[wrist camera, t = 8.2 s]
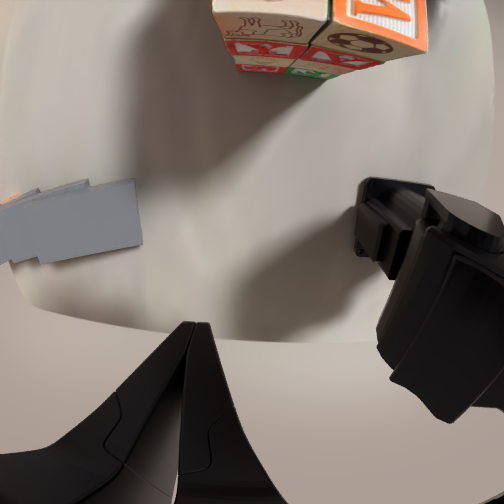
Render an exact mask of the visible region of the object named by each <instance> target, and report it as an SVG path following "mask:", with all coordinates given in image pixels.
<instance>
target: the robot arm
mask: <svg viewBox="0 0 504 504" xmlns="http://www.w3.org/2000/svg"><path fill="white" fill-rule="evenodd" d="M372 181H374V185H373V186H370V183H371V182H372ZM354 234H355V236H356V242H355V247H354V252H355V253H356V255H357V256H359V257H370V258H371V259H372V261H373V262H378V264H379V265H380V267H381V268H382V270H383V271H384V273H385V274H386V276H387V277H388V279H389V280H395V283H394V285H393V288H392V290H391V293H390V295H389V297H388V300H387V302H386V304H385V307H384V309H383V311H382V314H381V316H380V318H379V321H378V324H377V327H376V332H377V340H378V344H377V349H378V351H379V353H380V355H381V357H382V358H383V359H384V360H385V362H386V363H387V364H388V365H389V366H390V367H391V368H392V369H393V370H394V371H393V373H392V374H391V376H390V377H389V379H390V381H392V382H394V383H396V384H398V385H401V386H403V387H405V388H407V389H408V390H410V391H411V392H412V393H413V394H415V395H416V396H417V397H418V398H419V399H420V400H421V401H422V402H423V403H424V404H425V406H426V407H427V408H428V409H429V410H430V412H431V413H432V414H433V415H434V416H435V417H436V418H437V419H439V420H442V421H444V422H446V423H449V424H450V423H454V422H455V421H456V420H457V419H458V418H459V417H460V416H461V415H462V414H463V413H464V412H465V411H466V410H467V409H468V408H469V407H470V406H471V407H484V408H497V409H499V410H500V411H502V412H503V413H504V225H503V222H502V220H501V218H500V216H499V215H498V214H496V213H494V212H493V211H491V210H489V209H487V208H485V207H484V206H482V205H480V204H478V203H476V202H474V201H471V200H467V199H464V198H461V197H457V196H454V195H451V194H447V193H443V192H440V191H436V190H435V188H434V187H433V186H432V185H429V184H423V183H417V182H410V181H403V180H395V179H388V178H379V177H369V178H367V179H366V181H365V186H364V194H363V201H362V203H361V204H360V205H359V209H358V216H357V222H356V228H355V233H354ZM361 248H362V251H360V252H358V251H359V249H361ZM177 471H178V475H179V476H178V485H177V493H176V498H175V502H174V504H288V503H287V502H286V501H285V499H284V498H283V497H282V495H281V494H280V493H279V491H278V490H277V489H276V487H275V486H274V484H273V482H272V481H271V479H270V478H269V476H268V474H267V473H266V471H265V469H264V468H263V466H262V464H261V463H260V461H259V459H258V458H257V456H256V454H255V452H254V451H253V449H252V447H251V445H250V443H249V441H248V439H247V437H246V435H245V433H244V431H243V428H242V426H241V423H240V420H239V418H238V415H237V412H236V409H235V407H234V403H233V400H232V397H231V394H230V391H229V388H228V384H227V381H226V378H225V375H224V372H223V368H222V365H221V362H220V358H219V355H218V351H217V348H216V344H215V341H214V337H213V334H212V330H211V326H210V324H209V323H208V322H197V323H196V322H192V321H183V322H182V323H181V324H180V325H179V326H178V327H177V328H176V329H175V330H174V331H173V332H172V333H171V334H170V335H169V336H168V337H167V338H166V339H165V340H164V341H163V342H162V343H161V344H160V345H159V346H158V347H157V348H156V350H154V351H153V352H152V353H151V354H150V355H149V357H148V358H147V359H146V360H145V361H144V362H143V363H142V364H141V365H140V366H139V367H138V368H137V369H136V370H135V371H134V372H133V373H132V374H131V375H130V376H129V377H128V378H127V379H126V380H125V381H124V382H123V383H122V384H121V385H120V386H119V387H118V388H117V389H116V392H113V393H112V394H111V395H110V397H108V398H107V400H105V402H103V403H102V404H101V405H100V406H99V407H98V408H97V409H96V410H95V411H94V412H93V413H91V415H89V416H88V417H87V418H85V419H84V420H83V421H82V422H81V423H79V424H78V425H77V426H76V427H74V428H73V429H72V430H70V431H69V432H68V433H67V434H65V435H64V436H63V437H62V438H60V439H59V440H58V441H56V442H55V443H53V444H51V445H50V446H47V447H45V448H42V449H38V450H32V451H25V452H18V453H8V454H0V504H171V501H172V496H173V491H174V485H175V480H176V476H177ZM480 504H504V492H502V493H500V494H498V495H496V496H494V497H492V498H490V499H488V500H486V501H484V502H482V503H480Z"/></svg>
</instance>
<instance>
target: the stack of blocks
mask: <svg viewBox="0 0 504 504" xmlns="http://www.w3.org/2000/svg"><path fill="white" fill-rule="evenodd" d="M212 14H213V17H214V19H215V21H216V22H217V24H218V27H219V29H220V31H221V33H222V34H223V36H224V43H225V45H226V47H227V50H228V52H229V53H230V55H232V57H233V59H234V63H235V66H236V67H237V70H238V71H251V72H267V73H279V74H283V73H285V74H294V75H301V76H308V77H315V78H321V79H326V80H328V79H331V78H335V77H337V76H340V75H341V74H345V73H349V72H352V71H355V70H361V69H366V68H368V67H373V66H376V65H381V64H384V63H385V62H386V61H390V60H394V59H399V58H403V57H409V56H414V55H419V54H424V53H427V52H428V25H427V11H426V0H212Z"/></svg>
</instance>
